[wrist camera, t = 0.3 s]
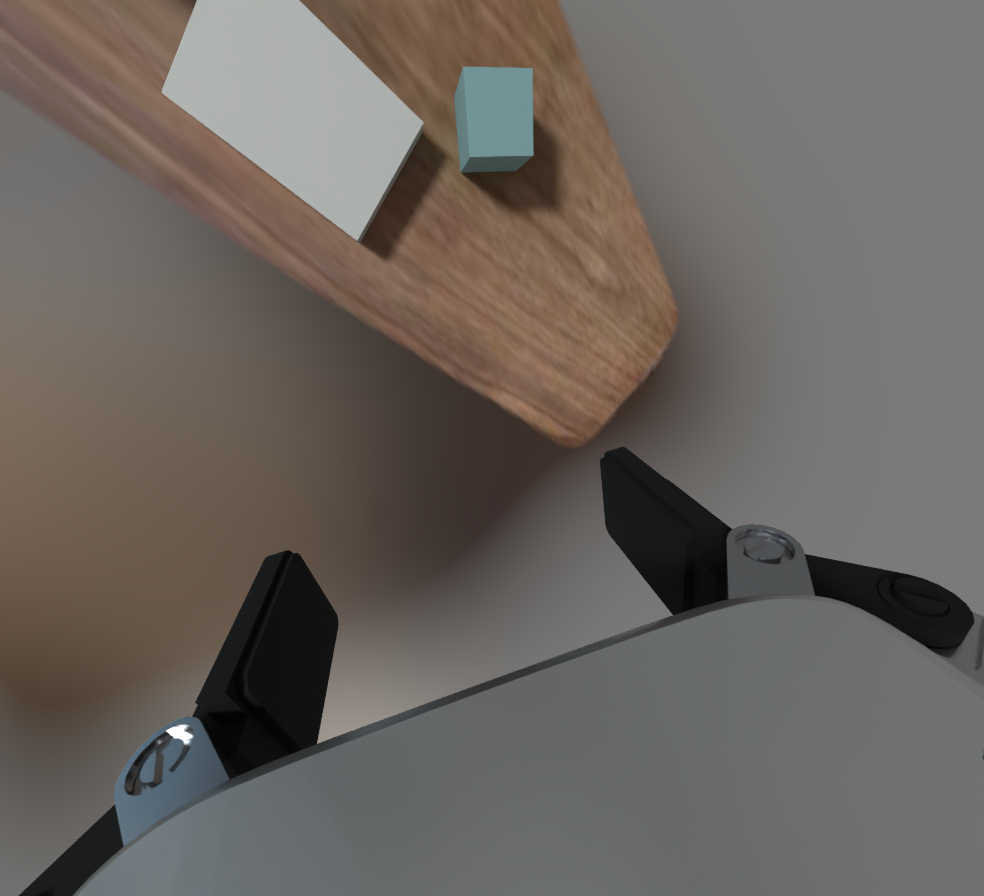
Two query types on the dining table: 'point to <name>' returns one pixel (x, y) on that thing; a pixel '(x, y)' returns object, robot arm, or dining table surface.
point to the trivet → (295, 104)
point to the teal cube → (494, 118)
